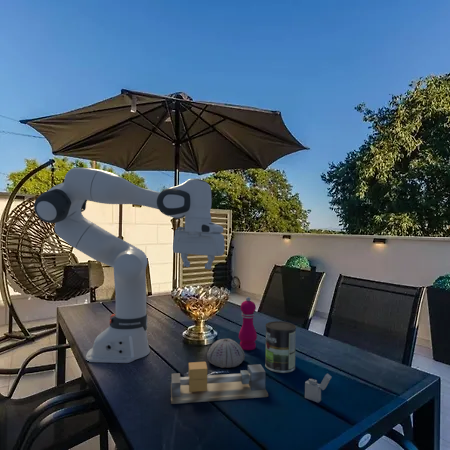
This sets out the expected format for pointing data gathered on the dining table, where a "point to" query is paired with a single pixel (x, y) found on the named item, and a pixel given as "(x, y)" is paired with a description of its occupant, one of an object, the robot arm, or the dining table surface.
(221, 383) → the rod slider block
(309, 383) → the lighter
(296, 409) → the dining table surface
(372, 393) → the dining table surface
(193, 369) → the tan wooden block
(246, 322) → the pepper mill
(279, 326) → the coffee can
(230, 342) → the sea urchin shell
